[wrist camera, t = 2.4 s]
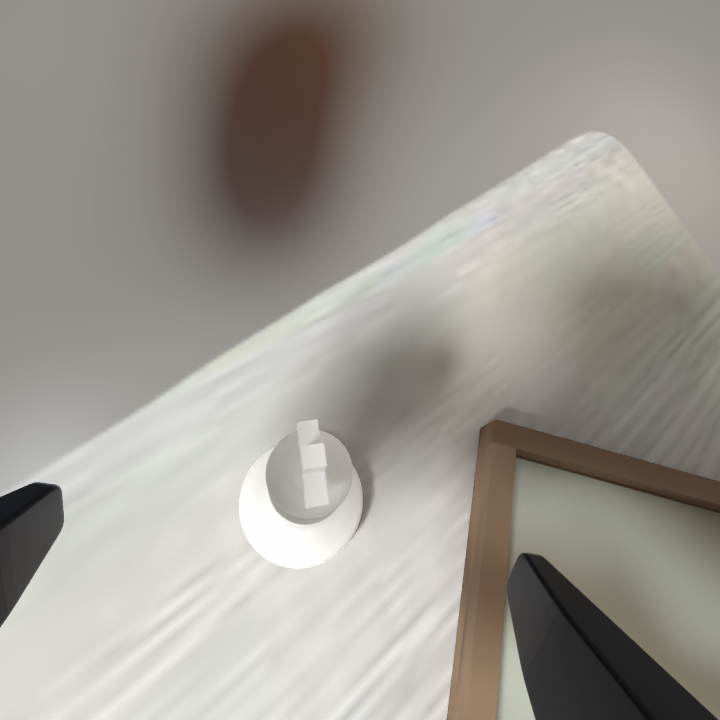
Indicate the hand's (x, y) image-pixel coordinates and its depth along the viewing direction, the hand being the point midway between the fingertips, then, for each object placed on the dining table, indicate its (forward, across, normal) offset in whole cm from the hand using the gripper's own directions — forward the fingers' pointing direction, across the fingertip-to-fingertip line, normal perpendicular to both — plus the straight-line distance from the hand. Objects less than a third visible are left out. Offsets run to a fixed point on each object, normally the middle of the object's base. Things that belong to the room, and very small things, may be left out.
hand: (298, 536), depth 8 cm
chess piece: (+7, 0, +6) cm, 9 cm away
